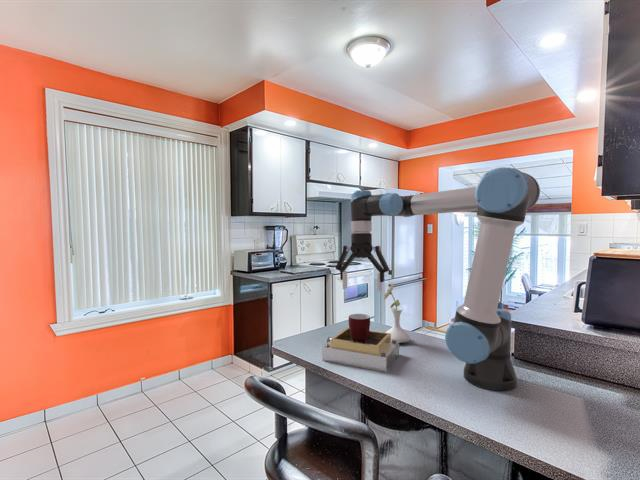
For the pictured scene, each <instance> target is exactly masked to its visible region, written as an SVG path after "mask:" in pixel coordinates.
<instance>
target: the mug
mask: <svg viewBox="0 0 640 480" xmlns="http://www.w3.org/2000/svg"><path fill="white" fill-rule="evenodd" d="M370 326H371V316H370V315H368V314H363V313H354V314H353V313H352V314H349V316H348V328H350V334H351V338H352V340H353V342H359V343H365V341H366V340H367V339H369V337H370V331H371V330H370Z"/></svg>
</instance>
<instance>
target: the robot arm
mask: <svg viewBox="0 0 640 480" xmlns="http://www.w3.org/2000/svg"><path fill="white" fill-rule="evenodd" d="M540 189H541V188H540V184H539V183H538V180H537V179H536V178H534V177H533V176H532V175H531V174H528V173H526V172H522V171H521V170H519V169H518V168H514V167H513V168H512V167H496V168H494V169H491V170H488V171H487V172H485V173H484V174H483V175H482V177H480V179H479V180H478V182H477V184H476V186H473V187H465V188H457V189H449V190H441V191H435V192H434V191H433V192H427V193H418V194H411V195H400V194H399V193H396V192H393V193H392V192H387V193H382V194H381V193H380V194H373V195H372V192H371V191H370V190H363V189H361V190H353V191H352V192H351V195H350V216H351V219H350V220H351V222H350V231H351V232H352V234H350V235H351V237H350V240H351V241H350V242H351V245H350V246H349V245H343V248H342V253H341V254H340V256H339V259H338V262H337V264H336V266H335V270H337V271H339V273H340V278H339V279H340V280H341V281H342V290H346V289H348V271H347V268H348V267H349V266H350V265H351V264H352V263H353V261H354V260H355V259H356V258H357V259H359V258H361V259H366V258H367V259H368V260H369V261H370V262H371V264H372V265H373V267H375V269H376V270H377V271H378V273H377V274H376V275H377V276H376V277H377V278H376V279H377V292H382V290H383V288H382V285H383V283H384V282H385V273H387V272H389V271H390V267H389V265H388V263H387V261H386V259H385V257H384V255H383V253H382V251H381V246H380V245H376V246H373V244H372V242H373V238H372V223H373V222H372V219H373V217H382V216H385V217H404V218H408V217H413V216H423V215H436V214H448V213H450V214H451V213H462V212H472V211H473V212H475V211H476V214H475V215H476V218H477V219H478V220H479V222H480V225H479V229H478V236H477V240H476V245H475V249H474V253H473V259H472V263H471V267H470V273H469V278H468V281H467V285H466V291H465V296H464V300H463V304H461V305H458V307H456V310H455V316H454V320H453V323H451V324H449V326H448V328H447V329H446V331H445V334H444V335H445V336H444V338H445V344H446V347H447V349H449V352H450V353H451V354H452V355H453V357H455V358H456V359H458V360H459V361H461V362H463V363H465V365H464V366H463V367H464V368H463V378H464V380H465V381H467V382H468V383H469V384H471V385H473V386H476V387H479V388H481V389H485V390H491V391H497V392H498V391H499V392H500V391H501V392H503V391H504V392H505V391H511V390H514V389H516V388H517V385H518V377H517V374H516V371H515V368H514V365H513V363H512V358H511V357H512V353H511V352H512V323H513V320H512V314H511V312H510V311H508V310H507V309H504V308H498V307H499V303H500V299H501V295H502V294H501V293H502V289H503V285H504V281H505V276H506V272H507V267H508V264H509V259H510V255H511V251H512V247H513V242H514V238H515V234H516V230H517V228H518V227H520V226H522V225H523V224H524V223H525V219H526V215H527V211H529V210H531V208H533V207H534V206H535V205H536V204H537V202H538V201H539V199H540V194H541V190H540ZM349 251H351V252H352V253H351V254H350V255H349V258H348V259H346V258H347V256H348V254H349ZM372 251H374V253H375V254H376V256H377V259H378V260H379V262H380V263H379V262H378V260H377V259H376V258H375V257H374V255H373V254H372ZM345 260H346V261H345Z"/></svg>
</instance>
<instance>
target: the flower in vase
mask: <svg viewBox="0 0 640 480" xmlns="http://www.w3.org/2000/svg"><path fill="white" fill-rule="evenodd" d="M394 287H395V284H394V283H392V284H390V287H389V288H388V289H387V290H386V293H385V294H384V296H383V298H382V299H383V300H386V299H388V297H389V296H392V299H393V301H394V302H393V303H392V304H391V305H390V310H391V311H392V314H393V326H392V327H391V328H390V329H388V330H387V331H385V333H391V340H396V341H399V344H403V343H407V342H409V341H410V340H411V336H410V334H409V333H408V332H407V331H406V330H405V329H403V328H402V327H401V324H400V319H401V314H402V312H403V310H404V309H403V308H400V307H399V306H400V305H401V303H400V301H399V299H395V297H394V294H393V293H392V291H393V289H394ZM394 306H395V307H394Z"/></svg>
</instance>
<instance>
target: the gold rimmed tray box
mask: <svg viewBox="0 0 640 480" xmlns="http://www.w3.org/2000/svg"><path fill="white" fill-rule="evenodd" d="M398 356H400V343H399V341H396V340H391V333H386V332H381V331H375V330H370V337H369V339H367V340H366V341H365V343H359V342H353V340H352V338H351V334H350V328H349V327H345V329H343V330H342V331H340V332H339V333H337V334H336V335H334V336H333V337H330V336H328V337H327V338H326V344H324V345H322V346H321V359H322V361H324V362H329V363H335V364H340V365H346V366H351V367H355V368H362V369H365V370H370V371H372V370H373V371H377V372H383V373H387V372H388V371H389V369H390V368H391V367H392V365H393V364H394V362H395V361H396V359H397V358H398Z"/></svg>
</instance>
